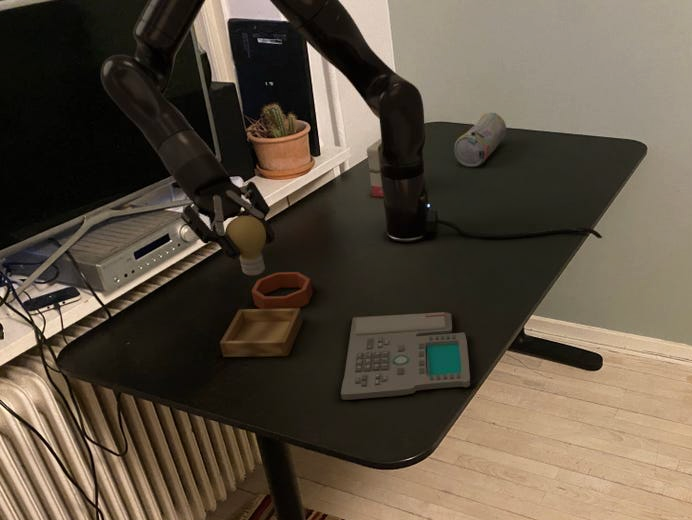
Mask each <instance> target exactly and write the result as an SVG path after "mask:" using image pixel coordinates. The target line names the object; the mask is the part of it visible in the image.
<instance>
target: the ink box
mask: <svg viewBox="0 0 692 520" xmlns="http://www.w3.org/2000/svg"><path fill="white" fill-rule="evenodd" d="M380 144H381V138H379V139H377V140H376V141H374V142H373V143H372V144H371V145H370V146H368V147H367V149H366V156H367V162H368V163H367V164H368V170H369V178H370V186H371V193H372V197H380V198H383V191H382V183H381V174H380V165H379V157H378V146H379V145H380Z"/></svg>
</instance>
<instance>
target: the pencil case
mask: <svg viewBox="0 0 692 520" xmlns="http://www.w3.org/2000/svg"><path fill="white" fill-rule="evenodd" d="M506 133H507V125H506V123H505V120H504V119H503V118H502V116H500V114H497V112H487V113H485V114H482V116H481V117H480V118H479V120H478V121H477V122H476V123H475V124H474V125H473V126H472V127H470V129H469V130H468V131H466V132H465V133H463V134H462V135H460V136H459V137H458V138H457V139H456V141H455V142H454V148H453V151H454V155H455V158H456V160H457V161H458V162H459V163H460V164H461V165H462V166H464V167H467V168H475V167H479V166H481V165H483V164H484V163H485V162H486V160H487V159H488V158H489V156H490V155H491V154H492V153H493V152H494V151H495V150H496V148H497V147H498V146H499V145H500V144H501V142H502V141H503V140H504V139H505V137H506Z"/></svg>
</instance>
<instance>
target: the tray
mask: <svg viewBox="0 0 692 520" xmlns="http://www.w3.org/2000/svg"><path fill="white" fill-rule="evenodd" d="M303 321H304V320H303V315H302V311H301V307H299V308H292V309H260V308H247V309H245V308H243V309H242V308H241V309H240V308H239V309H238V311H237V313H236V314H235V316H234V317H233V319H232V321H231V322H230V325H229V327H228V328H227V330H226V332H225V333H224V335H223V337H222V338H221V339H220V342H219V346H220V350H221V353H222V356H223V358H247V357H249V358H253V357H254V358H255V357H289V355H290V353H291V350H292V348H293V346H294V343H295V342H296V341H295V340H296V339H297V337H298V333H299V331H300V329H301V326H302V325H303Z"/></svg>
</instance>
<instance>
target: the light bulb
mask: <svg viewBox="0 0 692 520" xmlns="http://www.w3.org/2000/svg"><path fill="white" fill-rule="evenodd" d="M224 230H225V235H227V234H228V236H229V237H230V238H231V240H232V241H233V242H234V244H235V245H236V246H237V248H238V249H239V251H240V252H241V255H240V256H239V262H240V266H241V270H242V273H243V274H245V275H247V276H251V277H252V276H257V275H260V274H262V273H263V272H264V271H265V269H266V264H265V261H264V256H263V253H262V251H263V248H264V247H265V244H266V242H265V241H266V231H265V228H264V226H263V224H262V223H261V222H260V221H259V220H258V219H256V218H254V217H251V216H239V217H237V216H236V217H234V218H232V219H231V220H230V221H229V223H227V225H226V227H225V229H224Z"/></svg>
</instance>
